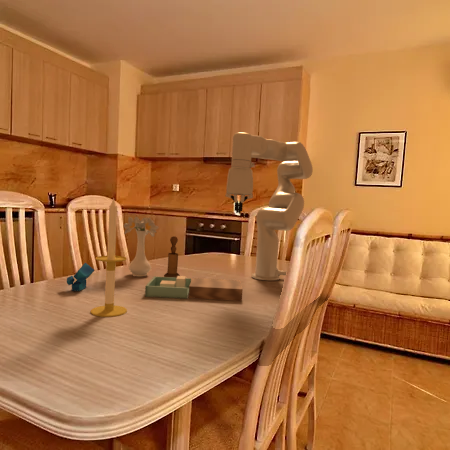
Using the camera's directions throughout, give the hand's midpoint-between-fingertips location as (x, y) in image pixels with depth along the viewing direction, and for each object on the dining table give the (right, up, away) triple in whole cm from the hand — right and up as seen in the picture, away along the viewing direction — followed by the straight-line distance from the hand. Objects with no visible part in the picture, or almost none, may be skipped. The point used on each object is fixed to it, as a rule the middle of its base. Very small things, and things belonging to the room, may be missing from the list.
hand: (238, 212), depth 143 cm
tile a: (-19, -26, -13) cm, 35 cm away
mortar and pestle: (-27, -28, +5) cm, 39 cm away
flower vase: (-42, -26, +13) cm, 51 cm away
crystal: (-55, -27, -16) cm, 64 cm away
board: (-9, -29, -12) cm, 33 cm away
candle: (-38, -30, -39) cm, 62 cm away
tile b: (-25, -25, -13) cm, 38 cm away
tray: (-25, -29, -13) cm, 40 cm away
